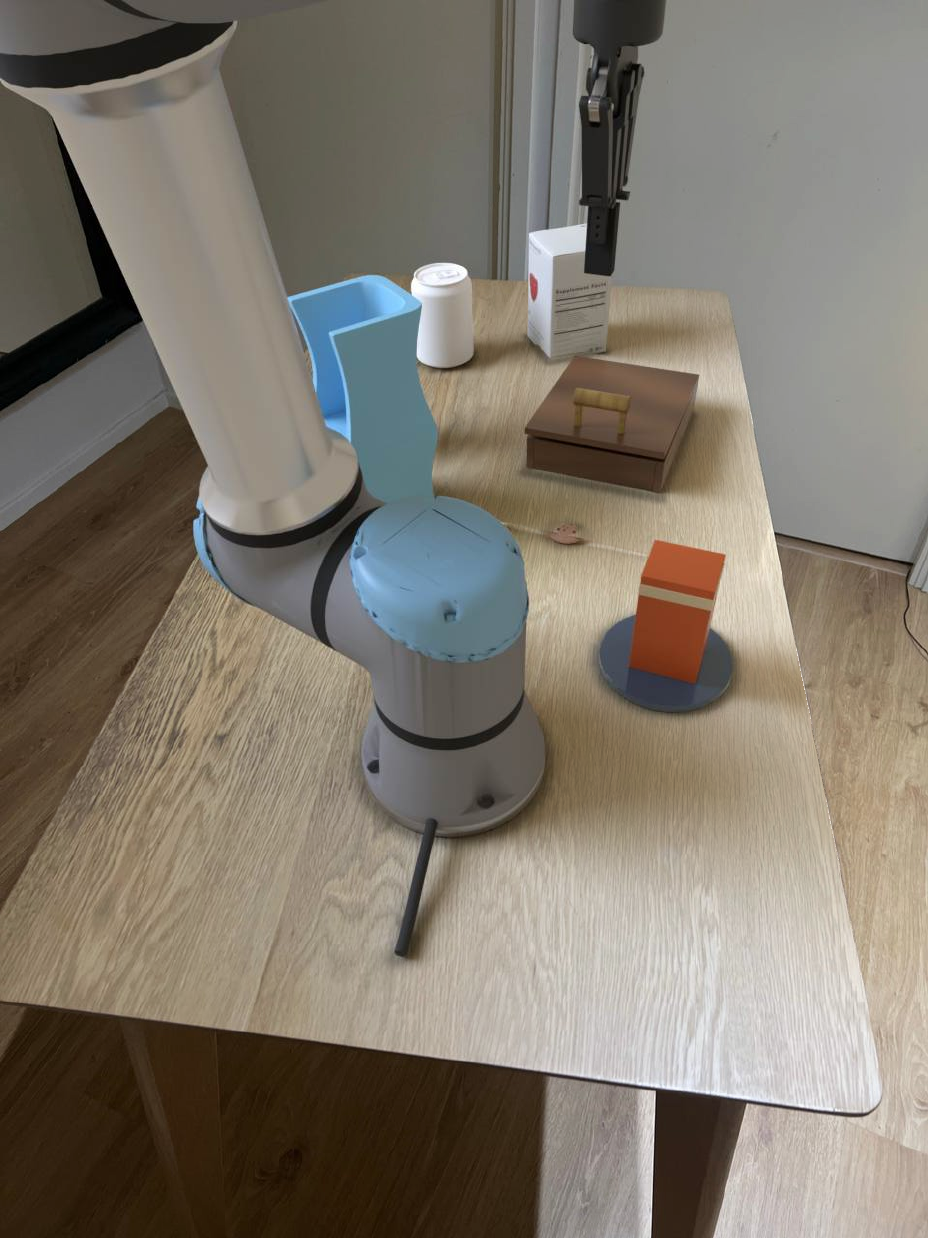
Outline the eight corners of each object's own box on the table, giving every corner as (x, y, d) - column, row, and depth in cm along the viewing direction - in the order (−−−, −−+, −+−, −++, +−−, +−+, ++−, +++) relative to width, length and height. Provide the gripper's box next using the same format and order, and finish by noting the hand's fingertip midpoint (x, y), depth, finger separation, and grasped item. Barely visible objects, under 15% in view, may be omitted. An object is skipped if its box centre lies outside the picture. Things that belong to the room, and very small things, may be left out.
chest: (659, 499, 100) (664, 462, 96) (526, 473, 104) (526, 437, 101) (692, 415, 112) (698, 380, 109) (572, 395, 117) (574, 361, 113)
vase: (324, 512, 100) (285, 297, 83) (400, 483, 104) (378, 270, 86) (364, 558, 94) (332, 336, 77) (444, 525, 97) (429, 306, 80)
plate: (718, 727, 76) (720, 721, 75) (583, 691, 79) (583, 685, 79) (741, 634, 84) (743, 628, 83) (617, 605, 87) (618, 599, 87)
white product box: (525, 336, 129) (526, 230, 119) (582, 325, 131) (588, 221, 121) (548, 364, 123) (551, 255, 113) (607, 352, 125) (616, 245, 114)
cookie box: (695, 684, 78) (715, 592, 71) (627, 667, 80) (640, 575, 73) (706, 646, 82) (726, 554, 74) (641, 630, 84) (654, 538, 76)
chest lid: (663, 459, 95) (670, 415, 92) (524, 433, 100) (525, 391, 96) (698, 380, 109) (705, 339, 105) (574, 361, 113) (577, 321, 110)
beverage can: (408, 351, 127) (400, 268, 119) (459, 339, 129) (455, 256, 121) (430, 376, 122) (424, 291, 113) (483, 362, 124) (481, 278, 116)
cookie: (553, 520, 97) (553, 513, 97) (589, 527, 96) (589, 519, 96) (543, 541, 95) (543, 534, 94) (580, 548, 94) (581, 541, 93)
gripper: (647, -2, 67) (618, 303, 83) (684, -29, 75) (651, 252, 91) (552, -6, 69) (542, 292, 85) (598, -31, 78) (581, 244, 94)
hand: (599, 271), depth 88 cm, fingers closed
